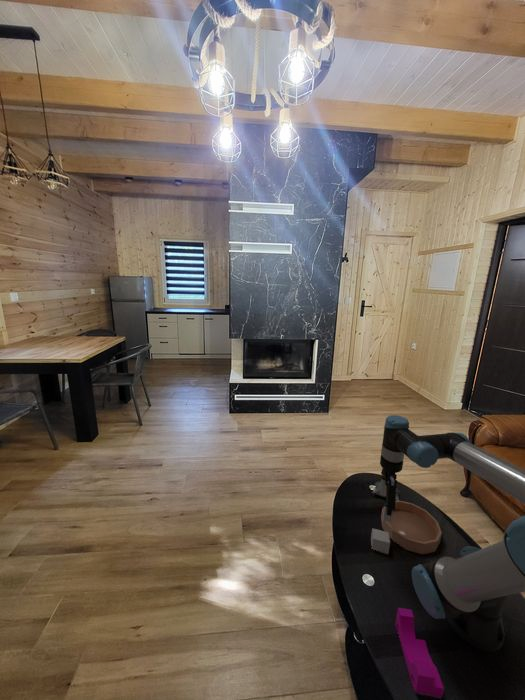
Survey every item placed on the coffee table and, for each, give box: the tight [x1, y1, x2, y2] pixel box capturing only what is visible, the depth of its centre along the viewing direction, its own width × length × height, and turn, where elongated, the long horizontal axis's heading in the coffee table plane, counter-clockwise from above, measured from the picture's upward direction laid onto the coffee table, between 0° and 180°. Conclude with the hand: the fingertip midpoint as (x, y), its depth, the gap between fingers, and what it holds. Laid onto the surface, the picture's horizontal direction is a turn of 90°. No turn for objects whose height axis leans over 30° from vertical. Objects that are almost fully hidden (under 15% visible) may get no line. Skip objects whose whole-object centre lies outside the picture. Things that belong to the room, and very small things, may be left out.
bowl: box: [380, 500, 443, 555], centre depth 119 cm, size 22×22×5 cm
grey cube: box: [370, 527, 391, 555], centre depth 110 cm, size 5×6×6 cm
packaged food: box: [371, 481, 401, 501], centre depth 138 cm, size 9×12×5 cm
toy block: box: [395, 607, 445, 698], centre depth 76 cm, size 15×6×8 cm, turn 173°
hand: (385, 507), depth 107 cm, fingers open, 13 cm apart
